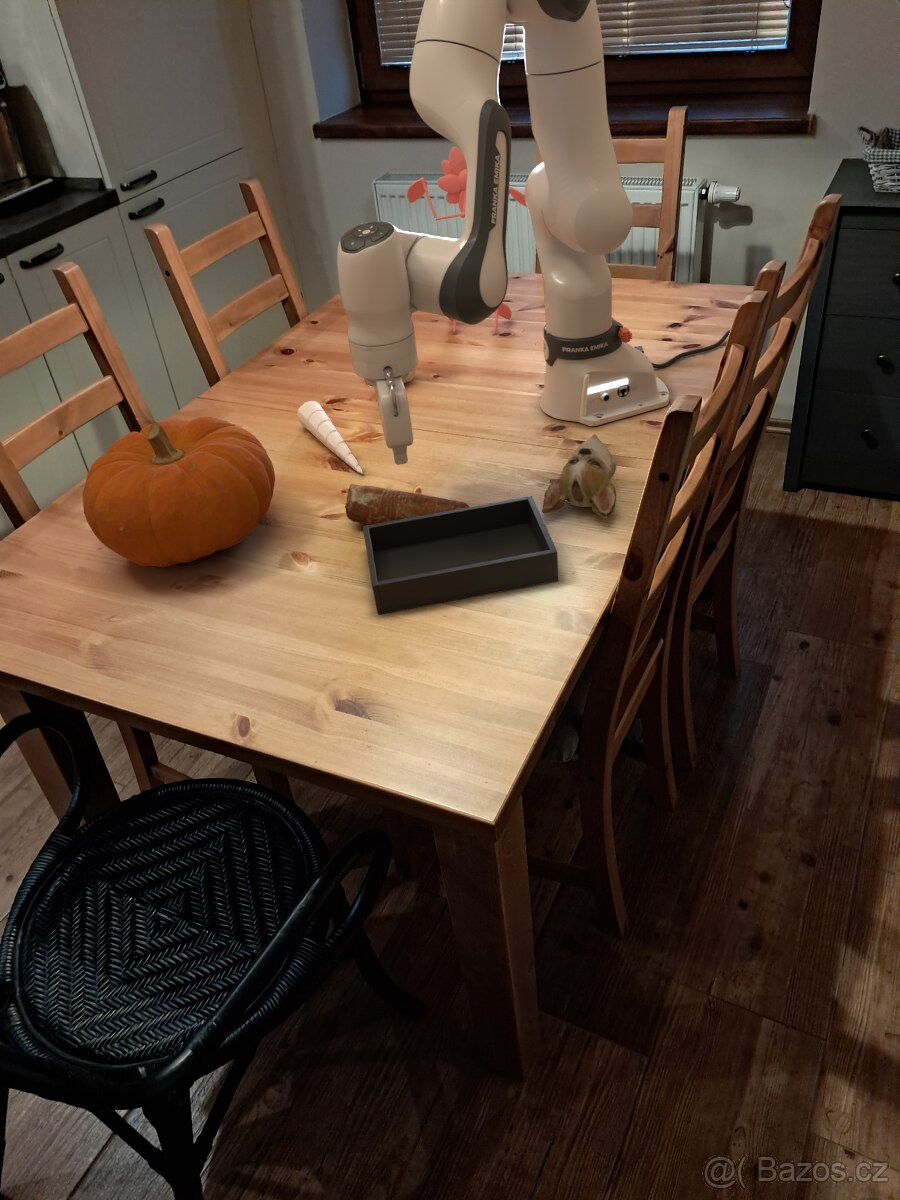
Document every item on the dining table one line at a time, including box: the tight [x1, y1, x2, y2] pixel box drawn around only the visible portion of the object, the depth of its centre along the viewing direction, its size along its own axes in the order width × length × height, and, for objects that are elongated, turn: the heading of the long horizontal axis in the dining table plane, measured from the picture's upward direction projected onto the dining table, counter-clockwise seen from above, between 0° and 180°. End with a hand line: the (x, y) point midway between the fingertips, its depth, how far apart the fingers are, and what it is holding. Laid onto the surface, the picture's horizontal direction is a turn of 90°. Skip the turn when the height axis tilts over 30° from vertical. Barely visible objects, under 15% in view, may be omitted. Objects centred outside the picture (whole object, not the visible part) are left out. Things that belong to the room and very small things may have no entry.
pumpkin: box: [82, 416, 276, 568], centre depth 134 cm, size 28×28×20 cm
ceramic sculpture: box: [541, 433, 617, 520], centre depth 134 cm, size 11×9×15 cm
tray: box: [362, 495, 559, 615], centre depth 125 cm, size 25×15×5 cm, turn 99°
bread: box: [344, 483, 470, 525], centre depth 135 cm, size 6×19×6 cm, turn 73°
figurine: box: [406, 146, 527, 333], centre depth 186 cm, size 15×26×35 cm, turn 75°
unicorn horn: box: [296, 400, 364, 475], centre depth 157 cm, size 5×24×5 cm, turn 25°
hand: (397, 446), depth 130 cm, fingers open, 8 cm apart
